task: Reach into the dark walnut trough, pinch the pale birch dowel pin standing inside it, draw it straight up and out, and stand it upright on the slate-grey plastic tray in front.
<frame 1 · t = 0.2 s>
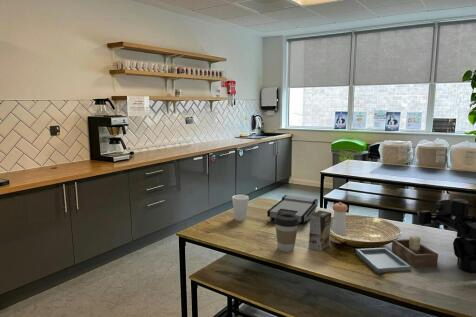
hand: (426, 211, 159), 17 cm above the table, tool horizontal, fingers open, 9 cm apart
tray: (381, 262, 144), on the table
foam cup: (240, 219, 196), on the table
dowel pin: (413, 257, 147), point 1 cm above the table, touching pin trough
office tray: (293, 217, 201), on the table
pepper shaker: (338, 240, 167), on the table
coffee cup: (285, 248, 157), on the table
pin trough: (412, 259, 147), on the table
coffee box: (319, 247, 159), on the table
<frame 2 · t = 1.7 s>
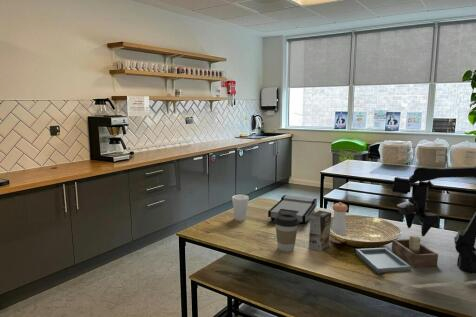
hand: (415, 231, 145), 13 cm above the table, tool pointing down, fingers open, 9 cm apart
nothing on the table moved.
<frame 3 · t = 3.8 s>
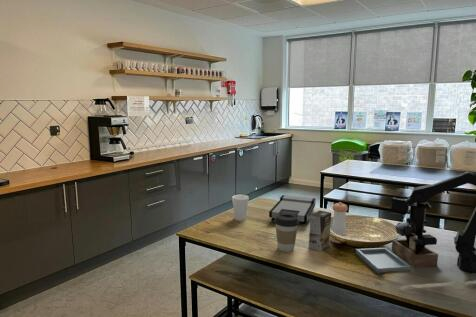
hand: (413, 252, 146), 4 cm above the table, tool pointing down, fingers closed on dowel pin, 4 cm apart
dowel pin: (413, 257, 147), point 1 cm above the table, touching gripper, pin trough
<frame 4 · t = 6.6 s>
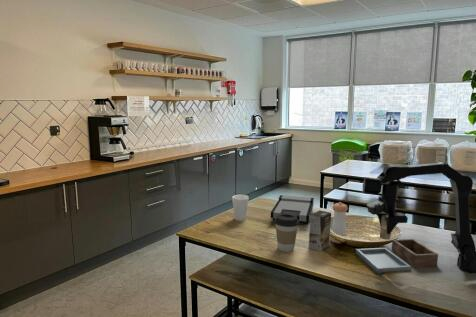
hand: (385, 232, 142), 13 cm above the table, tool pointing down, fingers closed on dowel pin, 4 cm apart
dowel pin: (384, 237, 142), point 11 cm above the table, touching gripper
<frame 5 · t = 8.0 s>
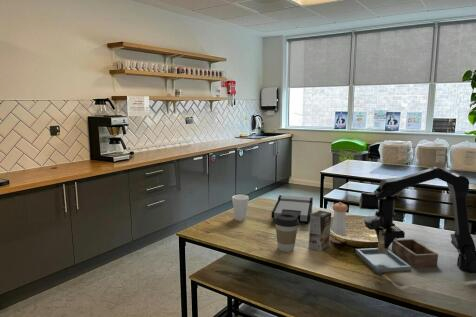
hand: (383, 246, 142), 7 cm above the table, tool pointing down, fingers closed on dowel pin, 4 cm apart
dowel pin: (382, 251, 143), point 5 cm above the table, touching gripper
when the fingers open (5 cm above the table, at t = 9.3 s): dowel pin drops 1 cm, resting on tray.
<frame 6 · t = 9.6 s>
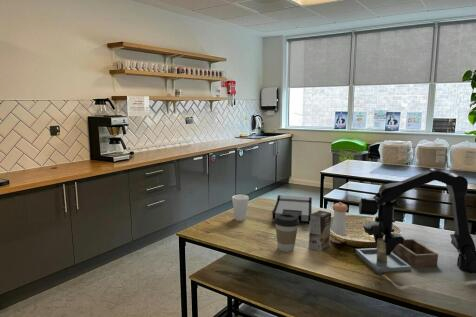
hand: (382, 251, 143), 5 cm above the table, tool pointing down, fingers open, 7 cm apart
dowel pin: (381, 260, 143), point 1 cm above the table, touching tray
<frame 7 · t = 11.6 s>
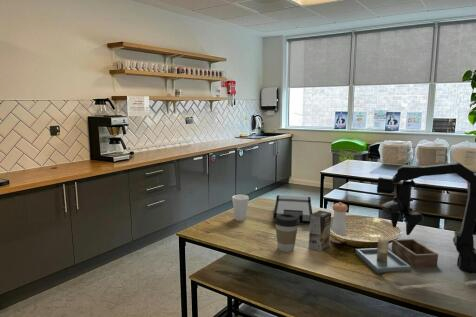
hand: (400, 231, 146), 13 cm above the table, tool pointing down, fingers open, 9 cm apart
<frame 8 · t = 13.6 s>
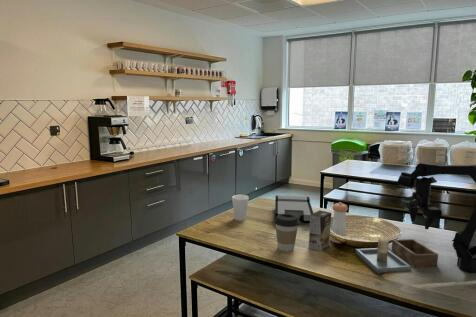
hand: (419, 225, 151), 13 cm above the table, tool pointing down, fingers open, 9 cm apart
at the end: dowel pin inside the target area on the tray (0.0 cm from its centre), point 1.0 cm above the tray's base; dowel pin tilted 0°; the gripper is holding nothing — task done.
